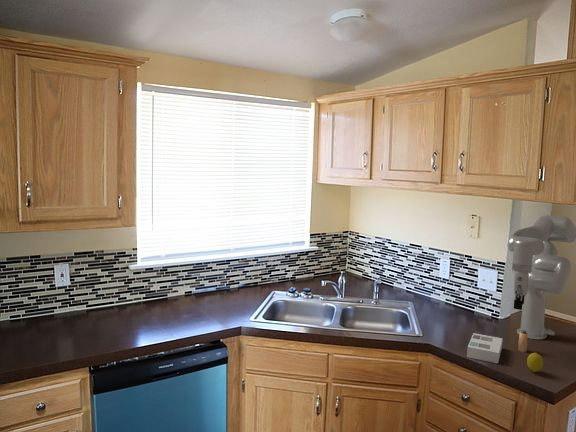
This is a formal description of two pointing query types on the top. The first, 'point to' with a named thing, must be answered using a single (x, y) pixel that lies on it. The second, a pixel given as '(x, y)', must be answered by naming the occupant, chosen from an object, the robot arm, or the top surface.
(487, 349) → the socket block
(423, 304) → the top surface
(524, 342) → the light wood cylinder
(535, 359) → the lemon
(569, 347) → the top surface
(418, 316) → the top surface
